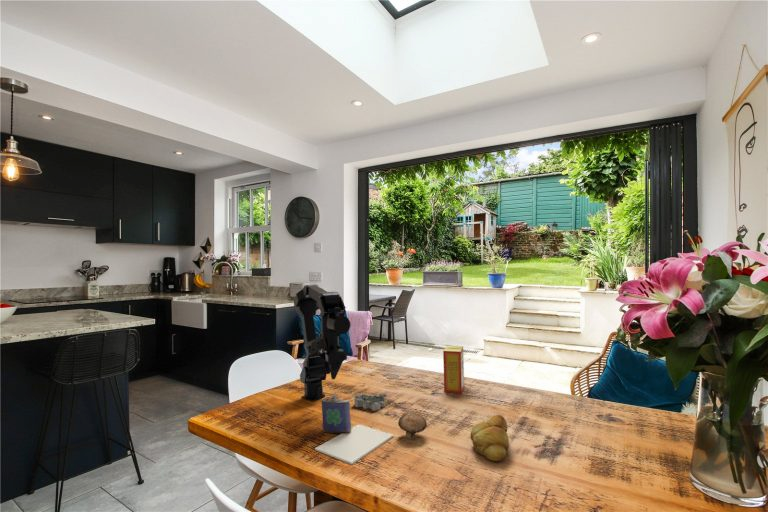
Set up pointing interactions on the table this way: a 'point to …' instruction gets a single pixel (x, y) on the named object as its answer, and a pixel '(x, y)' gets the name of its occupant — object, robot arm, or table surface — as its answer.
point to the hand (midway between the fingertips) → (330, 376)
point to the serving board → (354, 443)
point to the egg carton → (370, 401)
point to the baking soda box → (453, 369)
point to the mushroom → (412, 424)
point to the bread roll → (491, 438)
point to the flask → (336, 415)
